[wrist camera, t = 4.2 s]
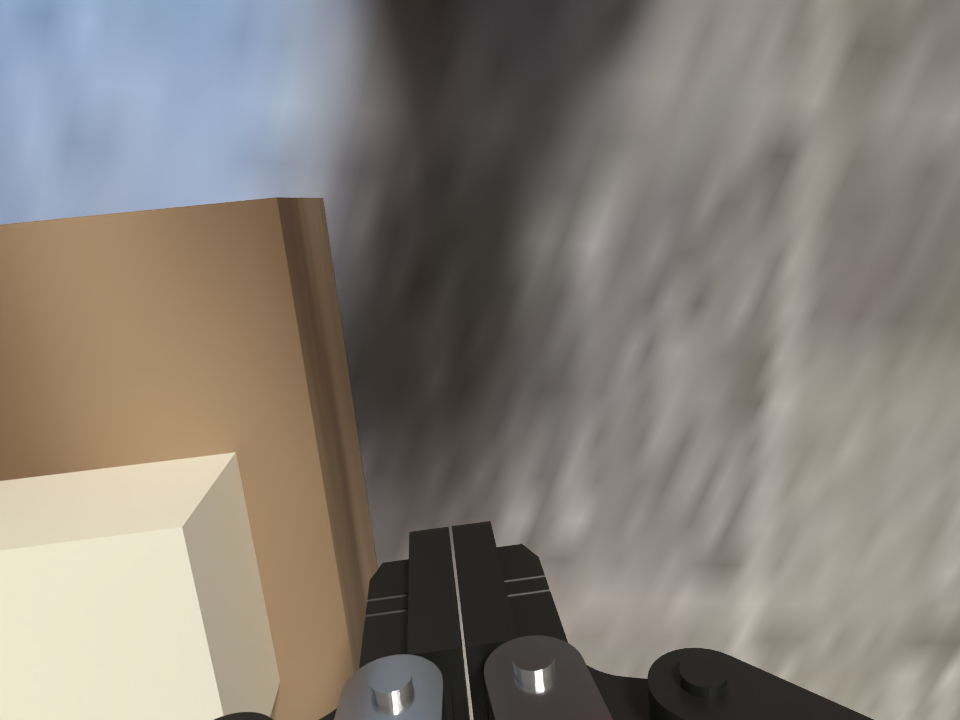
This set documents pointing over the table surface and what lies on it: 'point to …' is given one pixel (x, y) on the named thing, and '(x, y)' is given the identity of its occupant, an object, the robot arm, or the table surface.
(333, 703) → the ledge
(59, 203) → the table surface
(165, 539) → the cream square block
